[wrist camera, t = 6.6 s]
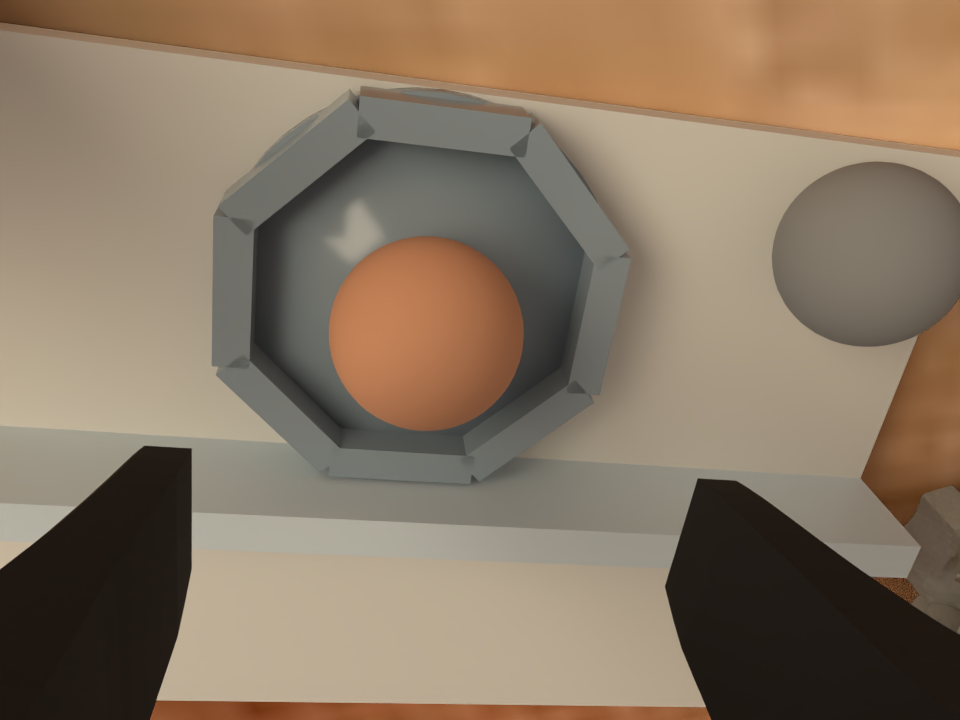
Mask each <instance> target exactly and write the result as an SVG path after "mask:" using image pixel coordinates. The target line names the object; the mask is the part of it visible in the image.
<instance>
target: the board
mask: <svg viewBox="0 0 960 720" xmlns="http://www.w3.org/2000/svg"><path fill="white" fill-rule="evenodd" d="M360 86H369V87H376V88H384V89H393V88H407V87H422V88H438V89H446V90H451V91H456V92H461V93H466V94H470V95H473V96H476V97H479V98H482V99H484V100H487V101H490V102H493V103H499V104H506V105H514V106H522V107H523V108H524V109H525V110H526V111H527V113H528V114H529V113H531V112H532V113H533V114H534V116H535V117H536V118H537V119H538V120H539V121H540V122H541V124H542V125H543V126H544V128H545V129H546V131H547V132H548V134H549V135H550V136H551V138H552V139H553V141H554V142H555V144H556V145H557V146H558V147H559V148H560V149H561V150H562V151H563V152H564V154H565V155H566V156H567V157H568V159H569V160H570V161H571V162H572V163H573V165H574V166H575V167H576V168H577V170H578V171H579V172H580V173H581V175H582V176H583V178H584V179H585V181H586V183H587V184H588V186H589V188H590V189H591V191H592V193H593V194H594V196H595V198H596V201H597V203H598V205H599V206H600V208H601V209H602V210H603V212H604V213H605V215H606V216H607V218H608V219H609V220H610V222H611V223H612V225H613V226H614V228H615V229H616V230H617V232H618V233H619V235H620V236H621V238H622V239H623V240H624V242H625V243H626V245H627V246H628V248H629V249H630V250H628V251H627V252H626V253H627V254H628V255H629V256H630V258H631V263H630V267H629V272H628V276H627V280H626V284H625V289H624V293H623V297H622V302H621V306H620V310H619V314H618V319H617V323H616V327H615V331H614V336H613V340H612V344H611V348H610V353H609V357H608V361H607V366H606V370H605V374H604V378H603V383H602V387H601V391H600V395H591V397H592V399H593V401H594V403H593V404H592V405H590V406H589V407H587V408H586V409H585V410H583V411H582V412H580V413H579V414H577V415H576V416H574V417H573V418H571V419H570V420H568V421H567V422H566V423H564V424H563V425H561V426H560V427H558V428H557V429H555V430H554V431H552V432H551V433H550V434H548V435H547V436H545V437H544V438H542V439H541V440H539V441H538V442H536V443H535V444H534V445H532V446H531V447H529V448H528V449H526V450H525V451H523V452H522V453H520V454H519V455H518V456H516V457H520V458H537V459H553V460H569V461H585V462H602V463H618V464H634V465H650V466H667V467H683V468H699V469H716V470H732V471H748V472H764V473H781V474H797V475H813V476H829V477H846V478H861V476H862V473H863V471H864V468H865V466H866V463H867V461H868V459H869V456H870V454H871V451H872V449H873V446H874V444H875V441H876V439H877V436H878V434H879V431H880V429H881V426H882V424H883V421H884V419H885V416H886V414H887V411H888V409H889V406H890V404H891V402H892V399H893V397H894V394H895V392H896V389H897V387H898V384H899V382H900V379H901V377H902V374H903V372H904V369H905V367H906V364H907V362H908V359H909V357H910V354H911V352H912V349H913V347H914V345H915V342H916V340H917V337H918V335H917V336H915V337H912V338H910V339H908V340H905V341H902V342H898V343H895V344H890V345H885V346H876V347H858V346H851V345H846V344H841V343H838V342H834V341H831V340H829V339H827V338H825V337H822V336H820V335H818V334H816V333H815V332H813V331H812V330H810V329H809V328H807V327H806V326H805V325H803V324H802V323H801V322H800V321H799V320H798V319H797V318H796V317H795V316H794V315H793V314H792V313H791V311H790V310H789V309H788V307H787V306H786V305H785V303H784V301H783V299H782V297H781V295H780V293H779V291H778V289H777V286H776V283H775V280H774V274H773V268H772V250H773V242H774V238H775V234H776V231H777V228H778V226H779V223H780V221H781V219H782V217H783V215H784V213H785V212H786V210H787V209H788V207H789V206H790V204H791V203H792V202H793V201H794V199H795V198H796V197H797V196H798V195H799V194H800V193H801V192H802V191H803V190H804V189H805V188H806V187H808V186H809V185H810V184H811V183H813V182H814V181H816V180H817V179H819V178H821V177H822V176H824V175H826V174H828V173H830V172H832V171H834V170H836V169H839V168H842V167H845V166H848V165H853V164H858V163H864V162H875V161H877V162H892V163H898V164H903V165H907V166H910V167H913V168H915V169H918V170H921V171H923V172H925V173H926V174H928V175H930V176H932V177H933V178H935V179H937V180H938V181H939V182H941V183H942V184H943V185H944V186H945V187H946V188H947V189H948V190H949V191H950V192H951V193H952V194H953V195H954V196H955V197H956V199H957V200H958V201H959V203H960V151H958V150H950V149H943V148H935V147H928V146H920V145H913V144H905V143H898V142H890V141H883V140H875V139H868V138H860V137H853V136H845V135H838V134H831V133H823V132H816V131H808V130H801V129H793V128H786V127H778V126H771V125H763V124H756V123H748V122H741V121H733V120H726V119H718V118H711V117H704V116H696V115H689V114H681V113H674V112H666V111H659V110H651V109H644V108H636V107H629V106H621V105H614V104H606V103H599V102H591V101H584V100H577V99H569V98H562V97H554V96H547V95H539V94H532V93H524V92H517V91H509V90H502V89H494V88H487V87H479V86H472V85H464V84H457V83H449V82H442V81H435V80H427V79H420V78H412V77H405V76H397V75H390V74H382V73H375V72H367V71H360V70H352V69H345V68H337V67H330V66H322V65H315V64H308V63H300V62H293V61H285V60H278V59H270V58H263V57H255V56H248V55H240V54H233V53H225V52H218V51H210V50H203V49H195V48H188V47H181V46H173V45H166V44H158V43H151V42H143V41H136V40H128V39H121V38H113V37H106V36H98V35H91V34H83V33H76V32H68V31H61V30H53V29H46V28H39V27H31V26H24V25H16V24H9V23H1V22H0V426H16V427H32V428H48V429H64V430H81V431H97V432H113V433H130V434H146V435H162V436H178V437H195V438H211V439H227V440H244V441H260V442H276V443H287V442H286V441H285V440H284V439H283V438H282V437H281V436H280V435H279V434H278V433H277V432H276V431H275V430H274V429H272V428H271V427H270V426H269V425H268V424H267V423H266V422H265V421H264V420H263V419H262V418H261V417H260V416H259V415H258V414H256V413H255V412H254V411H253V410H252V409H251V408H250V407H249V406H248V405H247V404H246V403H245V402H244V401H243V400H242V399H240V398H239V397H238V396H237V395H236V394H235V393H234V392H233V391H232V390H231V389H230V388H229V387H228V386H227V385H226V384H224V383H223V382H222V381H221V380H220V379H219V378H218V377H217V376H216V372H217V369H218V367H215V366H212V284H213V216H214V214H215V212H216V210H217V208H218V205H219V203H220V201H221V199H222V197H223V196H224V194H225V192H226V190H227V189H228V188H229V187H231V186H232V185H233V184H234V183H235V182H237V181H238V180H239V179H240V178H241V177H243V176H244V175H245V174H246V173H248V172H249V171H250V170H251V169H252V168H253V167H254V166H255V164H256V163H257V162H258V161H259V159H260V158H261V157H262V156H263V154H264V153H265V152H266V151H267V150H268V149H269V148H270V147H271V146H272V145H273V144H274V143H275V142H276V141H277V140H278V139H279V138H280V137H282V136H283V135H284V134H285V133H286V132H287V131H289V130H290V129H292V128H293V127H294V126H296V125H297V124H299V123H300V122H301V121H303V120H304V119H306V118H307V117H309V116H311V115H313V114H314V113H316V112H318V111H320V110H322V109H324V108H326V107H328V106H329V105H330V104H331V103H333V102H334V101H335V100H336V99H337V98H339V97H340V96H341V95H342V94H344V93H345V92H346V91H347V90H348V89H351V90H352V92H353V93H354V94H355V95H356V96H357V95H360ZM32 544H33V543H30V542H6V541H0V569H1V568H2V567H4V566H5V565H6V564H7V563H9V562H10V561H11V560H13V559H14V558H15V557H17V556H18V555H19V554H20V553H22V552H23V551H24V550H26V549H27V548H28V547H29V546H31V545H32ZM669 571H670V568H645V567H621V566H596V565H572V564H547V563H522V562H498V561H473V560H449V559H424V558H399V557H375V556H350V555H326V554H301V553H276V552H252V551H227V550H203V549H192V570H191V575H190V580H189V585H188V590H187V595H186V600H185V605H184V610H183V615H182V619H181V624H180V629H179V633H178V637H177V640H176V643H175V646H174V649H173V652H172V655H171V658H170V661H169V664H168V667H167V670H166V673H165V676H164V679H163V682H162V685H161V688H160V691H159V694H158V697H157V700H176V701H256V702H337V703H417V704H497V705H577V706H658V707H706V706H705V703H704V701H703V699H702V696H701V694H700V692H699V689H698V687H697V685H696V682H695V680H694V678H693V675H692V673H691V670H690V668H689V666H688V663H687V661H686V658H685V656H684V653H683V651H682V648H681V645H680V642H679V638H678V635H677V631H676V628H675V625H674V621H673V617H672V613H671V609H670V605H669V601H668V597H667V593H666V589H665V584H666V581H667V578H668V574H669Z"/></svg>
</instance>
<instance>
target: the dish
mask: <svg viewBox="0 0 960 720" xmlns="http://www.w3.org/2000/svg"><path fill="white" fill-rule="evenodd" d="M419 236H435V237H442V238H448V239H451V240H455V241H458V242H461V243H463V244H466V245H468V246H470V247H472V248H474V249H475V250H477V251H479V252H480V253H482V254H483V255H484V256H486V257H487V258H488V259H489V260H491V261H492V262H493V263H494V264H495V265H496V266H497V267H498V268H499V269H500V270H501V272H502V273H503V274H504V276H505V277H506V279H507V280H508V282H509V283H510V285H511V287H512V289H513V290H514V292H515V294H516V297H517V300H518V303H519V305H520V309H521V314H522V319H523V329H524V338H523V349H522V354H521V358H520V362H519V365H518V367H517V370H516V372H515V375H514V377H513V379H512V381H511V382H510V384H509V386H508V387H507V389H506V390H505V392H504V393H503V394H502V396H501V397H500V398H499V399H498V400H497V401H496V402H495V403H494V404H493V405H492V406H491V407H490V408H488V409H487V410H486V411H485V412H483V413H482V414H480V415H479V416H477V417H476V418H474V419H472V420H470V421H468V422H466V423H464V424H461V425H458V426H455V427H452V428H448V429H443V430H435V431H418V430H410V429H405V428H401V427H398V426H395V425H392V424H389V423H387V422H385V421H383V420H381V419H379V418H377V417H375V416H374V415H372V414H371V413H369V412H368V411H367V410H365V409H364V408H363V407H362V406H361V405H360V404H358V402H357V401H356V400H355V399H354V398H353V397H352V396H351V395H350V393H349V392H348V391H347V389H346V388H345V386H344V385H343V383H342V382H341V380H340V378H339V376H338V374H337V371H336V369H335V367H334V363H333V360H332V357H331V352H330V346H329V321H330V314H331V310H332V307H333V303H334V300H335V297H336V295H337V293H338V291H339V288H340V287H341V285H342V284H343V282H344V280H345V279H346V277H347V276H348V275H349V273H350V272H351V271H352V270H353V269H354V267H355V266H356V265H357V264H358V263H359V262H360V261H361V260H363V259H364V258H365V257H366V256H368V255H369V254H370V253H372V252H373V251H375V250H377V249H379V248H380V247H382V246H384V245H386V244H389V243H392V242H394V241H397V240H401V239H405V238H410V237H419ZM628 250H630V249H629V248H628V246H627V245H626V243H625V242H624V240H623V239H622V238H621V236H620V235H619V233H618V232H617V230H616V229H615V228H614V226H613V225H612V223H611V222H610V220H609V219H608V218H607V216H606V215H605V213H604V212H603V210H602V209H601V208H600V206H599V205H598V203H597V201H596V198H595V196H594V194H593V193H592V191H591V189H590V188H589V186H588V184H587V183H586V181H585V179H584V178H583V176H582V175H581V173H580V172H579V171H578V170H577V168H576V167H575V166H574V165H573V163H572V162H571V161H570V160H569V159H568V157H567V156H566V155H565V154H564V152H563V151H562V150H561V149H560V148H559V147H558V146H557V145H556V144H555V142H554V141H553V139H552V138H551V136H550V135H549V134H548V132H547V131H546V129H545V128H544V126H543V125H542V124H541V122H540V121H539V120H538V119H537V118H536V117H535V116H534V114H533V113H532V112H531V113H529V114H528V113H527V111H526V110H525V109H524V108H523V107H522V106H514V105H506V104H499V103H493V102H490V101H487V100H484V99H482V98H479V97H476V96H473V95H470V94H466V93H461V92H456V91H451V90H446V89H438V88H422V87H407V88H393V89H384V88H376V87H369V86H360V95H357V96H356V95H355V94H354V93H353V92H352V90H351V89H348V90H347V91H346V92H345V93H344V94H342V95H341V96H340V97H339V98H337V99H336V100H335V101H334V102H333V103H331V104H330V105H329V106H328V107H326V108H324V109H322V110H320V111H318V112H316V113H314V114H313V115H311V116H309V117H307V118H306V119H304V120H303V121H301V122H300V123H299V124H297V125H296V126H294V127H293V128H292V129H290V130H289V131H287V132H286V133H285V134H284V135H283V136H282V137H280V138H279V139H278V140H277V141H276V142H275V143H274V144H273V145H272V146H271V147H270V148H269V149H268V150H267V151H266V152H265V153H264V154H263V156H262V157H261V158H260V159H259V161H258V162H257V163H256V164H255V166H254V167H253V168H252V169H251V170H250V171H249V172H248V173H246V174H245V175H244V176H243V177H241V178H240V179H239V180H238V181H237V182H235V183H234V184H233V185H232V186H231V187H229V188H228V189H227V190H226V192H225V194H224V196H223V197H222V199H221V201H220V203H219V205H218V208H217V210H216V212H215V214H214V216H213V284H212V366H215V367H218V369H217V372H216V376H217V377H218V378H219V379H220V380H221V381H222V382H223V383H224V384H226V385H227V386H228V387H229V388H230V389H231V390H232V391H233V392H234V393H235V394H236V395H237V396H238V397H239V398H240V399H242V400H243V401H244V402H245V403H246V404H247V405H248V406H249V407H250V408H251V409H252V410H253V411H254V412H255V413H256V414H258V415H259V416H260V417H261V418H262V419H263V420H264V421H265V422H266V423H267V424H268V425H269V426H270V427H271V428H272V429H274V430H275V431H276V432H277V433H278V434H279V435H280V436H281V437H282V438H283V439H284V440H285V441H286V442H287V443H288V444H290V445H291V446H292V447H293V448H294V449H295V450H296V451H297V452H298V453H299V454H300V455H301V456H302V457H303V458H304V459H306V460H307V461H308V462H309V463H310V464H311V465H312V466H313V467H314V468H315V469H316V470H317V471H318V472H319V473H320V472H322V471H323V470H324V469H326V468H327V467H329V476H331V477H349V478H367V479H385V480H403V481H421V482H439V483H457V484H470V482H471V476H472V475H473V476H474V477H475V478H476V479H477V480H478V481H479V482H480V481H481V480H483V479H484V478H485V477H487V476H488V475H490V474H491V473H493V472H494V471H496V470H497V469H499V468H500V467H501V466H503V465H504V464H506V463H507V462H509V461H510V460H512V459H513V458H515V457H516V456H518V455H519V454H520V453H522V452H523V451H525V450H526V449H528V448H529V447H531V446H532V445H534V444H535V443H536V442H538V441H539V440H541V439H542V438H544V437H545V436H547V435H548V434H550V433H551V432H552V431H554V430H555V429H557V428H558V427H560V426H561V425H563V424H564V423H566V422H567V421H568V420H570V419H571V418H573V417H574V416H576V415H577V414H579V413H580V412H582V411H583V410H585V409H586V408H587V407H589V406H590V405H592V404H593V403H594V401H593V399H592V397H591V395H600V391H601V387H602V383H603V378H604V374H605V370H606V366H607V361H608V357H609V353H610V348H611V344H612V340H613V336H614V331H615V327H616V323H617V319H618V314H619V310H620V306H621V302H622V297H623V293H624V289H625V284H626V280H627V276H628V272H629V267H630V263H631V258H630V256H629V255H628V254H627V253H626V252H627V251H628Z"/></svg>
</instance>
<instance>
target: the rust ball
mask: <svg viewBox="0 0 960 720" xmlns="http://www.w3.org/2000/svg"><path fill="white" fill-rule="evenodd" d="M523 338H524V329H523V319H522V314H521V309H520V305H519V303H518V300H517V297H516V294H515V292H514V290H513V289H512V287H511V285H510V283H509V282H508V280H507V279H506V277H505V276H504V274H503V273H502V272H501V270H500V269H499V268H498V267H497V266H496V265H495V264H494V263H493V262H492V261H491V260H489V259H488V258H487V257H486V256H484V255H483V254H482V253H480V252H479V251H477V250H475V249H474V248H472V247H470V246H468V245H466V244H463V243H461V242H458V241H455V240H451V239H448V238H442V237H435V236H419V237H410V238H405V239H401V240H397V241H394V242H392V243H389V244H386V245H384V246H382V247H380V248H379V249H377V250H375V251H373V252H372V253H370V254H369V255H368V256H366V257H365V258H364V259H363V260H361V261H360V262H359V263H358V264H357V265H356V266H355V267H354V269H353V270H352V271H351V272H350V273H349V275H348V276H347V277H346V279H345V280H344V282H343V284H342V285H341V287H340V288H339V291H338V293H337V295H336V297H335V300H334V303H333V307H332V310H331V314H330V321H329V346H330V352H331V357H332V360H333V363H334V367H335V369H336V371H337V374H338V376H339V378H340V380H341V382H342V383H343V385H344V386H345V388H346V389H347V391H348V392H349V393H350V395H351V396H352V397H353V398H354V399H355V400H356V401H357V402H358V404H360V405H361V406H362V407H363V408H364V409H365V410H367V411H368V412H369V413H371V414H372V415H374V416H375V417H377V418H379V419H381V420H383V421H385V422H387V423H389V424H392V425H395V426H398V427H401V428H405V429H410V430H418V431H435V430H443V429H448V428H452V427H455V426H458V425H461V424H464V423H466V422H468V421H470V420H472V419H474V418H476V417H477V416H479V415H480V414H482V413H483V412H485V411H486V410H487V409H488V408H490V407H491V406H492V405H493V404H494V403H495V402H496V401H497V400H498V399H499V398H500V397H501V396H502V394H503V393H504V392H505V390H506V389H507V387H508V386H509V384H510V382H511V381H512V379H513V377H514V375H515V372H516V370H517V367H518V365H519V362H520V358H521V354H522V349H523Z"/></svg>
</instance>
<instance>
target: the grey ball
mask: <svg viewBox="0 0 960 720" xmlns="http://www.w3.org/2000/svg"><path fill="white" fill-rule="evenodd" d="M772 268H773V274H774V280H775V283H776V286H777V289H778V291H779V293H780V295H781V297H782V299H783V301H784V303H785V305H786V306H787V307H788V309H789V310H790V311H791V313H792V314H793V315H794V316H795V317H796V318H797V319H798V320H799V321H800V322H801V323H802V324H803V325H805V326H806V327H807V328H809V329H810V330H812V331H813V332H815V333H816V334H818V335H820V336H822V337H825V338H827V339H829V340H831V341H834V342H838V343H841V344H846V345H851V346H858V347H876V346H885V345H890V344H895V343H898V342H902V341H905V340H908V339H910V338H912V337H915V336H917V335H919V334H921V333H922V332H924V331H926V330H928V329H929V328H930V327H932V326H933V325H935V324H936V323H937V322H938V321H939V320H941V319H942V318H943V317H944V316H945V315H946V314H947V313H948V312H949V311H950V310H951V309H952V307H953V306H954V305H955V303H956V302H957V301H958V299H959V297H960V203H959V201H958V200H957V199H956V197H955V196H954V195H953V194H952V193H951V192H950V191H949V190H948V189H947V188H946V187H945V186H944V185H943V184H942V183H941V182H939V181H938V180H937V179H935V178H933V177H932V176H930V175H928V174H926V173H925V172H923V171H921V170H918V169H915V168H913V167H910V166H907V165H903V164H898V163H892V162H877V161H875V162H864V163H858V164H853V165H848V166H845V167H842V168H839V169H836V170H834V171H832V172H830V173H828V174H826V175H824V176H822V177H821V178H819V179H817V180H816V181H814V182H813V183H811V184H810V185H809V186H808V187H806V188H805V189H804V190H803V191H802V192H801V193H800V194H799V195H798V196H797V197H796V198H795V199H794V201H793V202H792V203H791V204H790V206H789V207H788V209H787V210H786V212H785V213H784V215H783V217H782V219H781V221H780V223H779V226H778V228H777V231H776V234H775V238H774V242H773V250H772Z"/></svg>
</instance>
